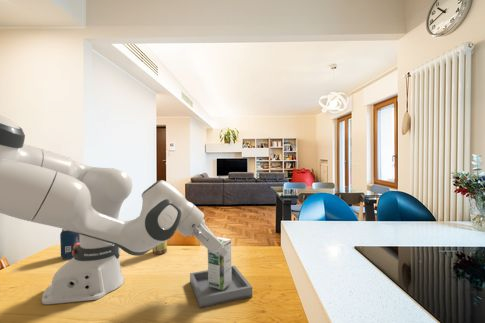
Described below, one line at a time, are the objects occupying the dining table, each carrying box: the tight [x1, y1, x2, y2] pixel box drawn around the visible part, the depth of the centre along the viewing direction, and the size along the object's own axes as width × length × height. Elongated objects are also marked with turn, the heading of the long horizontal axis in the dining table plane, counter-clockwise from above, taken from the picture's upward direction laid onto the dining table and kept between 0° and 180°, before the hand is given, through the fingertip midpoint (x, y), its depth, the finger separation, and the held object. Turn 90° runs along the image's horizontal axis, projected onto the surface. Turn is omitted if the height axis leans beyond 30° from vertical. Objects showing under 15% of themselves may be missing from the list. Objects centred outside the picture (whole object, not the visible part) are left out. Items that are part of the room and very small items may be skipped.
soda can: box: [59, 228, 80, 260], centre depth 109 cm, size 7×7×12 cm
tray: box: [189, 265, 253, 309], centre depth 83 cm, size 16×16×3 cm
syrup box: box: [207, 236, 232, 290], centre depth 83 cm, size 6×6×14 cm
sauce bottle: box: [151, 240, 168, 255], centre depth 113 cm, size 7×6×20 cm
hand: (221, 248), depth 83 cm, fingers closed on syrup box, 8 cm apart
